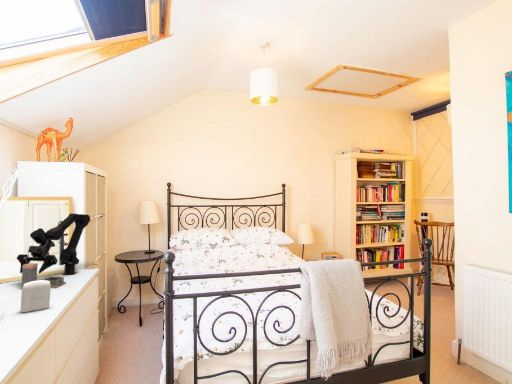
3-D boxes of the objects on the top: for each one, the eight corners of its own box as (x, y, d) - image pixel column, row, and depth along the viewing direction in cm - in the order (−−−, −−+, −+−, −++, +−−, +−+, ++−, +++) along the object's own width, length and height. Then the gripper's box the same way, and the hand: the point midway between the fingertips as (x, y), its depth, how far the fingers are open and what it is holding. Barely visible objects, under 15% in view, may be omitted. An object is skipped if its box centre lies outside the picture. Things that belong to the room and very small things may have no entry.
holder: (48, 283, 171) (49, 276, 171) (65, 283, 171) (66, 276, 171) (38, 288, 162) (39, 280, 162) (56, 288, 162) (57, 280, 163)
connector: (27, 287, 163) (28, 263, 163) (36, 287, 163) (37, 263, 164) (21, 289, 158) (22, 265, 159) (30, 289, 159) (32, 265, 159)
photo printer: (48, 305, 137) (49, 277, 137) (50, 308, 134) (51, 279, 134) (19, 310, 130) (21, 281, 130) (21, 313, 126) (22, 283, 127)
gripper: (19, 239, 166) (3, 264, 155) (55, 240, 168) (42, 264, 156) (28, 251, 174) (13, 275, 162) (62, 252, 175) (50, 276, 164)
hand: (29, 272), depth 161 cm, fingers open, 9 cm apart
